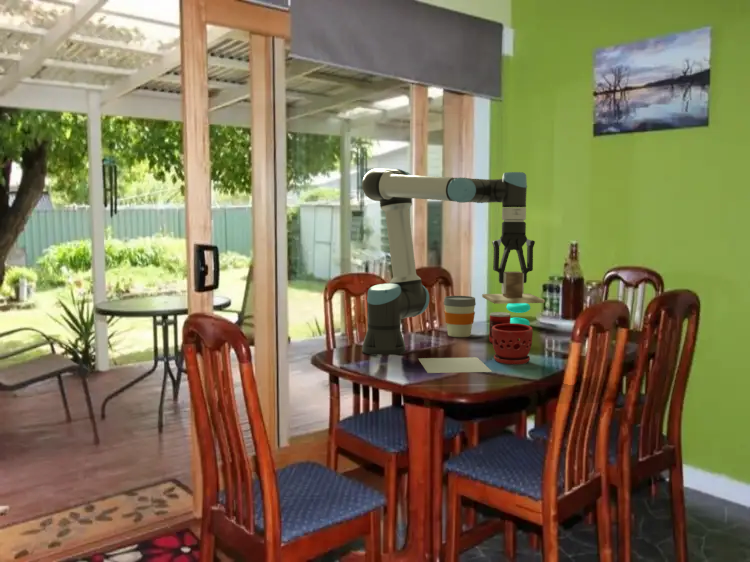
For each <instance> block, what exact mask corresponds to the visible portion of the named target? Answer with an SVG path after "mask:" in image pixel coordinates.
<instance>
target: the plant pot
mask: <svg viewBox="0 0 750 562" xmlns="http://www.w3.org/2000/svg"><path fill="white" fill-rule="evenodd" d="M533 333H534V331H533V327H532V326H530V325H529V326H528V325H524V324H512V323H507V324H497V325H494V326H493V327H492V343H491V344H492V347H493V350H494V352H495V354H494V355H493V359H494V361H496V362H497V363H500V364H503V365H523V364H527V363H528V362H530V360H531V356H530V355H529V353H530V352H531V349H532V344H533V335H534V334H533ZM497 341H498V342H497Z"/></svg>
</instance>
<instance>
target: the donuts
mask: <svg viewBox="0 0 750 562" xmlns="http://www.w3.org/2000/svg"><path fill="white" fill-rule="evenodd" d="M506 309H507V311H509V312H511V313H514V314H515V313H516V314H522V313H523V314H524V313H526V312H529V311H530V310H531V305H530V303H506ZM510 323H512V324H524V325H528V326H530V325H531V323H530V320H529V319H527V318H525V317H510Z"/></svg>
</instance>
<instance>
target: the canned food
mask: <svg viewBox="0 0 750 562" xmlns="http://www.w3.org/2000/svg"><path fill="white" fill-rule="evenodd" d="M510 318H511V313H509V312H506V311H505V312H504V311H494V312H493V311H492V312H490V313H489V335H488V336H489V337H488V338H489V339H488V340H489V343H491V344H493V343H492V327H493V326H494V325H497V324H507V323H510ZM497 342H498V341H497Z"/></svg>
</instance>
